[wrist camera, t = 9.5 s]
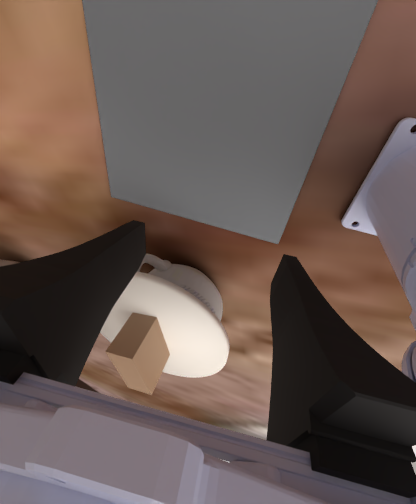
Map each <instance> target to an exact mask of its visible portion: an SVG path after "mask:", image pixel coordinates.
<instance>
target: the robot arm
mask: <svg viewBox="0 0 416 504" xmlns="http://www.w3.org/2000/svg"><path fill="white" fill-rule="evenodd" d="M414 125H416V118H404V119H402V120H401V121H399V123H398V124H397V125H396V127H395V129H394V130H393V132H392V134H391V135H390V137H389V139H388V141H387V142H386V144H385V146H384V148H383V149H382V151H381V153H380V154H379V156H378V158H377V160H376V161H375V163H374V165H373V166H372V168H371V170H370V172H369V173H368V175H367V177H366V178H365V180H364V182H363V184H362V185H361V187H360V189H359V191H358V192H357V194H356V196H355V197H354V199H353V201H352V203H351V204H350V206H349V208H348V209H347V211H346V213H345V215H344V216H343V218H342V220H341V222H342V225H343V226H344V227H346V228H350V229H353V230H357V231H361V232H365V233H369V234H372V235H376V236H378V238H379V240H380V242H381V244H382V246H383V248H384V250H385V252H386V255H387V257H388V259H389V261H390V263H391V265H392V267H393V269H394V271H395V273H396V276H397V278H398V280H399V282H400V284H401V286H402V288H403V290H404V292H405V295H406V297H407V299H408V301H409V303H410V305H411V307H412V313H411V315H410V317H409V318H410V320H411V322H412V324H413V327H414V329H415V331H416V131H415V132H413V133H411V132H410V130H411V128H412V127H413V126H414ZM355 221H356V222H358V223H357V224H355V225H352V223H353V222H355ZM145 255H146V242H145V223H143V222H138V221H134V220H133V221H131V222H129V223H126V224H124V225H122V226H120V227H118V228H116V229H114V230H112V231H110V232H108V233H106V234H104V235H102V236H100V237H97V238H95V239H93V240H90V241H88V242H86V243H83V244H81V245H78V246H76V247H73V248H70V249H68V250H65V251H62V252H59V253H55V254H52V255H48V256H45V257H41V258H37V259H33V260H30V261H25V262H21V263H16V264H11V265H6V266H0V504H416V475H415V473H414V470H413V467H412V464H411V462H416V457H415V454H414V452H413V449H412V446H414V445H416V341H414V342H413V343H411V345H410V346H409V347H408V349H407V350H406V352H405V353H404V356H403V360H402V372H401V371H399V370H398V369H397V368H396V367H394V366H393V365H392V364H391V363H389V362H388V361H387V360H386V359H385V358H383V357H382V356H381V355H380V354H379V353H377V352H376V351H375V350H374V349H373V348H372V347H370V346H369V345H368V344H367V343H366V342H365V341H364V340H363V339H362V338H361V337H360V336H359V335H358V334H357V333H355V332H354V331H353V330H352V329H351V328H350V327H349V326H348V325H347V324H346V322H345V321H344V320H343V319H342V318H341V317H340V316H339V315H338V314H337V313H336V312H335V310H334V309H333V308H332V307H331V306H330V304H329V303H328V302H327V301H326V299H325V298H324V297H323V296H322V294H321V293H320V291H319V290H318V289H317V287H316V286H315V285H314V283H313V282H312V280H311V279H310V277H309V276H308V274H307V273H306V271H305V270H304V268H303V267H302V265H301V263H300V262H299V260H298V259H297V257H294V256H289V255H285V254H284V255H283V257H282V260H281V262H280V264H279V267H278V269H277V271H276V273H275V276H274V278H273V280H272V283H271V293H270V308H271V323H272V337H273V362H272V382H271V397H270V410H269V421H268V432H267V440H263V439H260V438H256V437H253V436H249V435H246V434H242V433H239V432H235V431H231V430H228V429H224V428H221V427H217V426H214V425H210V424H207V423H203V422H199V421H196V420H192V419H189V418H185V417H182V416H178V415H175V414H171V413H167V412H164V411H160V410H157V409H153V408H150V407H146V406H143V405H139V404H135V403H132V402H128V401H125V400H121V399H118V398H114V397H111V396H107V395H103V394H100V393H96V392H93V391H89V390H85V389H82V388H79V387H75V386H76V383H77V381H78V379H79V376H80V374H81V372H82V369H83V367H84V365H85V362H86V360H87V358H88V356H89V354H90V352H91V350H92V347H93V345H94V343H95V341H96V339H97V337H98V335H99V333H100V331H101V329H102V327H103V325H104V323H105V321H106V319H107V317H108V316H109V314H110V312H111V310H112V308H113V307H114V305H115V303H116V302H117V300H118V299H119V297H120V296H121V294H122V293H123V291H124V290H125V288H126V287H127V286H128V284H129V283H130V281H131V280H132V278H133V277H134V275H135V274H136V272H137V271H138V269H139V267H140V265H141V263H142V261H143V259H144V257H145ZM218 458H219V459H218ZM221 459H222V460H221ZM223 460H226V461H229V462H230V463H228V462H226V461H223Z"/></svg>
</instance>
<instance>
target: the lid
mask: <svg viewBox="0 0 416 504" xmlns="http://www.w3.org/2000/svg"><path fill="white" fill-rule="evenodd" d="M100 333H101V334H102V335H103V336H104V337H105V338H106V339H107V340H108V341H110V342H111V344H110V346H109V347H108V349H107V350H106V351H105V352H106V354H107V355H108V357H109V358H110V360H111V361H112V363H113V365H114V366H115V368H116V369H117V371H118V372H119V374H120V375H121V377H122V379H123V380H124V382H125V383H126V385H127V386H128V388H131V389H134V390H138V391H141V392H144V393H147V394H150V395H152V393H153V391H154V389H155V386H156V384H157V382H158V380H159V378H160V376H161V373H162V372H165V373H168V374H172V375H177V376H182V377H206V376H210V375H213V374H215V373H217V372H219V371H220V370H221V369H222V368H223V367H224V365H225V364H226V361H227V357H228V353H229V345H230V344H229V338H228V335H227V333H226V330H225V328H224V327H223V325H222V323H221V322H220V320H219V319H218V318H217V316H216V315H215V314H214V313H213V312H212V311H211V310H210V309H209V308H208V307H207V306H206V305H205V304H204V303H203V302H201V301H200V300H199V299H198V298H196V297H195V296H194V295H192V294H191V293H189V292H188V291H186V290H184V289H183V288H181V287H180V286H178V285H176V284H174V283H172V282H169V281H167V280H165V279H162V278H160V277H157V276H154V275H151V274H147V273H143V272H138V271H137V272H136V274H135V275H134V277H133V278H132V280H131V281H130V283H129V284H128V286H127V287H126V288H125V290H124V291H123V293H122V294H121V296H120V297H119V299H118V300H117V302H116V303H115V305H114V307H113V308H112V310H111V312H110V314H109V316H108V317H107V319H106V321H105V323H104V325H103V327H102V329H101V331H100Z"/></svg>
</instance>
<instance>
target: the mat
mask: <svg viewBox="0 0 416 504" xmlns="http://www.w3.org/2000/svg"><path fill="white" fill-rule="evenodd" d="M82 2H83V9H84V16H85V23H86V29H87V36H88V43H89V50H90V56H91V63H92V70H93V77H94V84H95V90H96V97H97V104H98V111H99V117H100V124H101V131H102V138H103V144H104V151H105V158H106V165H107V171H108V178H109V185H110V192H111V197H114V198H117V199H121V200H124V201H128V202H131V203H135V204H138V205H142V206H145V207H149V208H152V209H156V210H159V211H163V212H166V213H170V214H173V215H177V216H180V217H184V218H187V219H191V220H194V221H198V222H201V223H205V224H209V225H212V226H216V227H219V228H223V229H226V230H230V231H233V232H237V233H240V234H244V235H247V236H251V237H254V238H258V239H261V240H265V241H268V242H272V243H275V244H278V243H279V241H280V238H281V236H282V234H283V231H284V229H285V226H286V224H287V221H288V219H289V216H290V214H291V212H292V209H293V207H294V204H295V202H296V199H297V197H298V194H299V192H300V190H301V187H302V185H303V182H304V180H305V177H306V175H307V173H308V170H309V168H310V165H311V163H312V160H313V158H314V155H315V153H316V151H317V148H318V146H319V143H320V141H321V138H322V136H323V133H324V131H325V129H326V126H327V124H328V121H329V119H330V116H331V114H332V112H333V109H334V107H335V104H336V102H337V99H338V97H339V94H340V92H341V90H342V87H343V85H344V82H345V80H346V77H347V75H348V72H349V70H350V68H351V65H352V63H353V60H354V58H355V55H356V53H357V51H358V48H359V46H360V43H361V41H362V38H363V36H364V33H365V31H366V29H367V26H368V24H369V21H370V19H371V16H372V14H373V11H374V9H375V7H376V4H377V2H378V0H82Z"/></svg>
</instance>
